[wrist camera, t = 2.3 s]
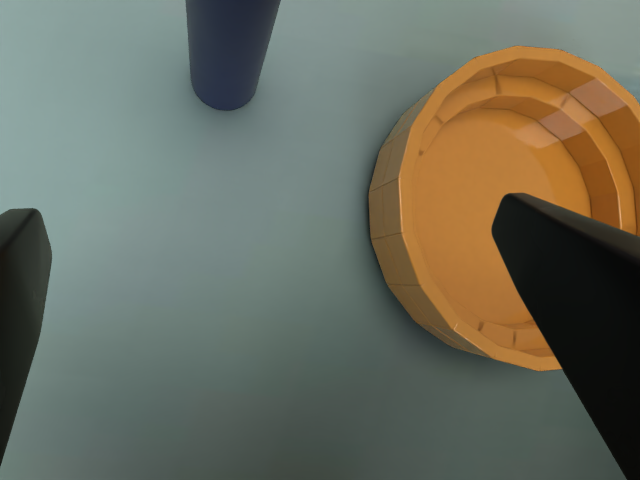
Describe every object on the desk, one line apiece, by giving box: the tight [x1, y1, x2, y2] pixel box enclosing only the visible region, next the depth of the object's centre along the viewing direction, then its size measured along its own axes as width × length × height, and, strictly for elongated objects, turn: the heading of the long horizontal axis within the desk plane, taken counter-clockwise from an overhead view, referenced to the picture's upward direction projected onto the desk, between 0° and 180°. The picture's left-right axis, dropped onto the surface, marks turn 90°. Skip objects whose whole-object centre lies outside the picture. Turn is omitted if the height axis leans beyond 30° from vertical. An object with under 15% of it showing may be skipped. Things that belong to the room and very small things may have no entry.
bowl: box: [369, 46, 640, 371], centre depth 23 cm, size 14×14×4 cm
